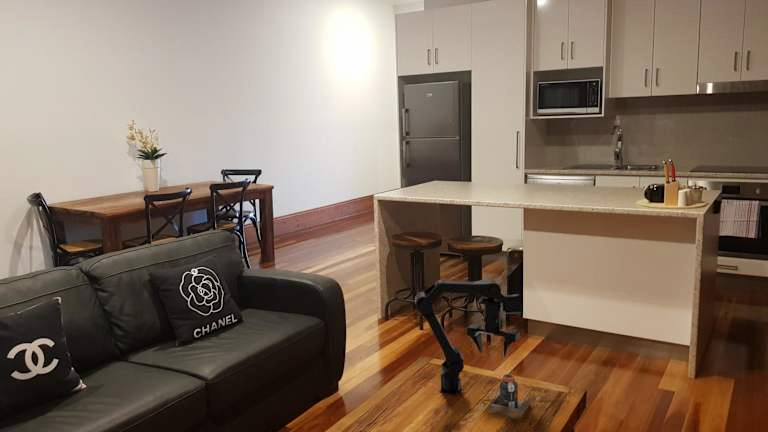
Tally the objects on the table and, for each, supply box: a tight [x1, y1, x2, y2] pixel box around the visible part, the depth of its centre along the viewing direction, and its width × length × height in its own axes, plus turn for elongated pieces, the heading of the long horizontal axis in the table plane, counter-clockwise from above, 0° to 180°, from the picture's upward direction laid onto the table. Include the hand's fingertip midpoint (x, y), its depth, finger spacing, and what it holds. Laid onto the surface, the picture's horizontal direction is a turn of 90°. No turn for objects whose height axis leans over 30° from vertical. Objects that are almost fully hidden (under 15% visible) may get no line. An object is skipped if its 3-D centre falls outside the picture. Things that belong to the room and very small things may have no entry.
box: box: [488, 390, 531, 420], centre depth 205 cm, size 11×11×3 cm
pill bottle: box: [499, 373, 519, 409], centre depth 204 cm, size 6×6×11 cm
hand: (493, 354), depth 219 cm, fingers open, 9 cm apart
